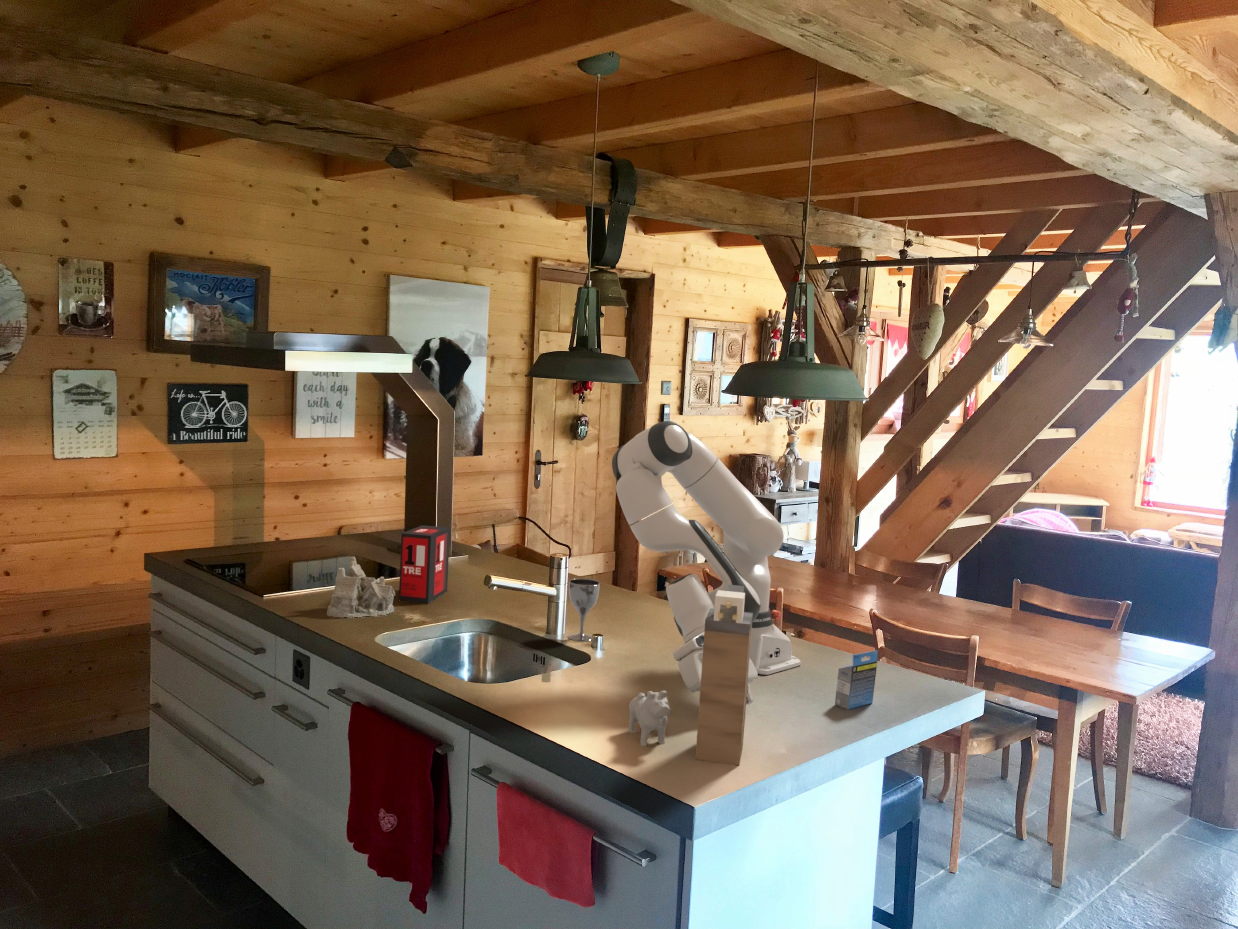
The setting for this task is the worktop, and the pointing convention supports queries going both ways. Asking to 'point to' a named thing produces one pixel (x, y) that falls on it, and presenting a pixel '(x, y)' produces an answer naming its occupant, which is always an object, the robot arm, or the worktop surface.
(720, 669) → the stand
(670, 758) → the worktop surface
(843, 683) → the label tape box
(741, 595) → the plug
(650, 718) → the grey animal figure
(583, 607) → the wine glass
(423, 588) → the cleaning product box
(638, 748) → the worktop surface
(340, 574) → the ceramic cottage
